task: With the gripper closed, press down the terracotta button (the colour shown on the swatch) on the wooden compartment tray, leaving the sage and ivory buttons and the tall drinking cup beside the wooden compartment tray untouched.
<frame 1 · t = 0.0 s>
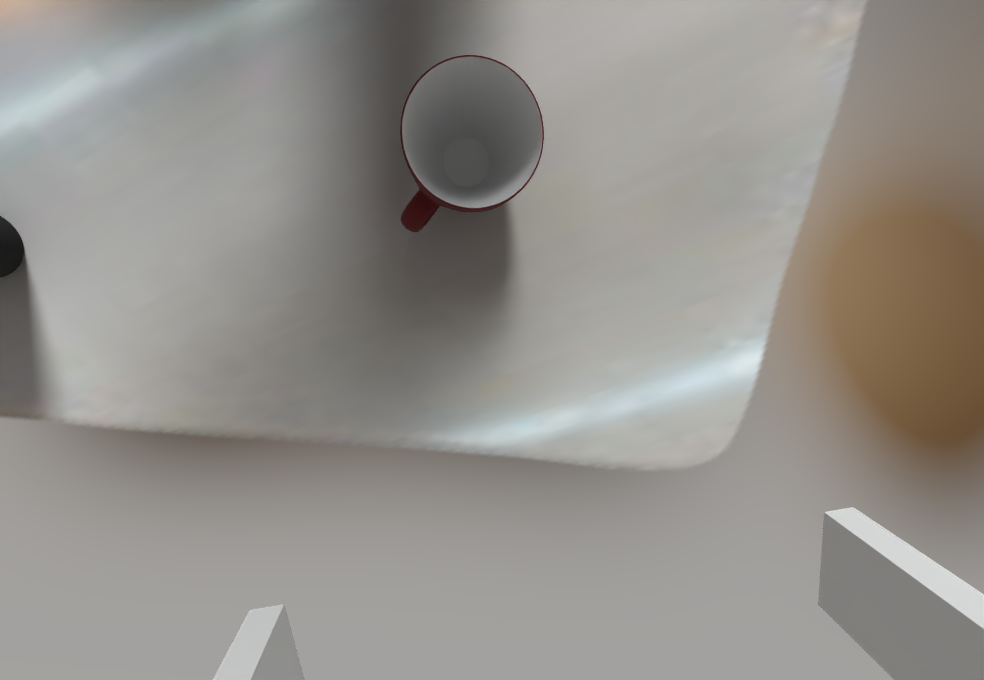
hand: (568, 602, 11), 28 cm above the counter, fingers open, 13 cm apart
mug: (457, 177, 35), on the counter
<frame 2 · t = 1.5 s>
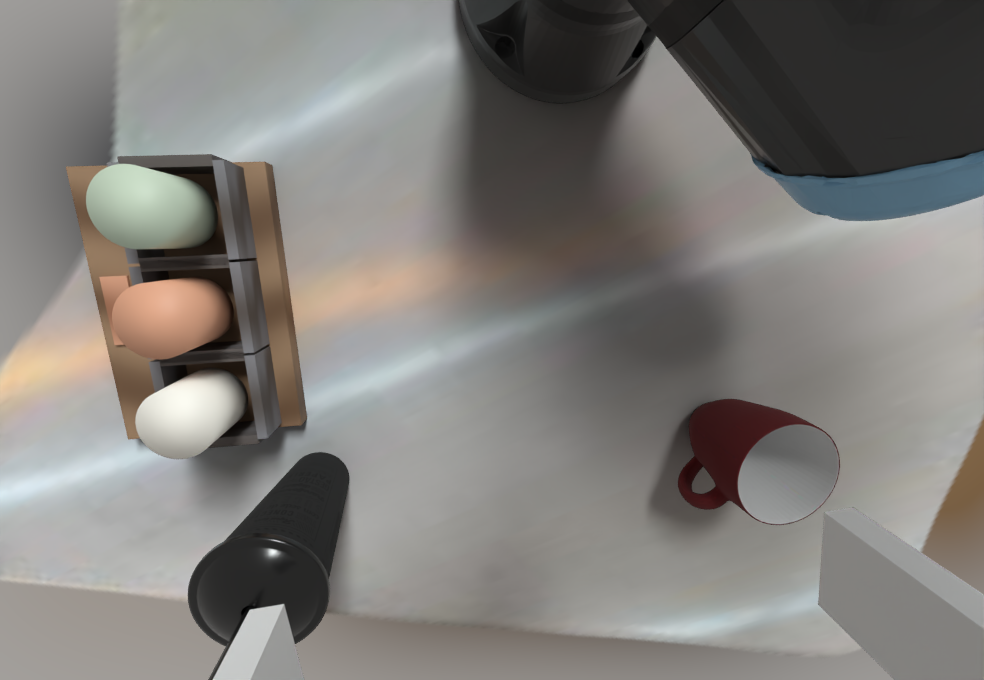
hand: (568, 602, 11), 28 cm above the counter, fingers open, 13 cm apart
button terracotta: (178, 315, 29), point 6 cm above the counter, slide at 0.0 cm
button ivory: (196, 410, 30), point 6 cm above the counter, slide at 0.0 cm
button sage: (158, 210, 28), point 6 cm above the counter, slide at 0.0 cm
wooden compartment tray: (203, 303, 35), on the counter
mug: (698, 431, 43), on the counter
drinking cup: (321, 476, 39), on the counter
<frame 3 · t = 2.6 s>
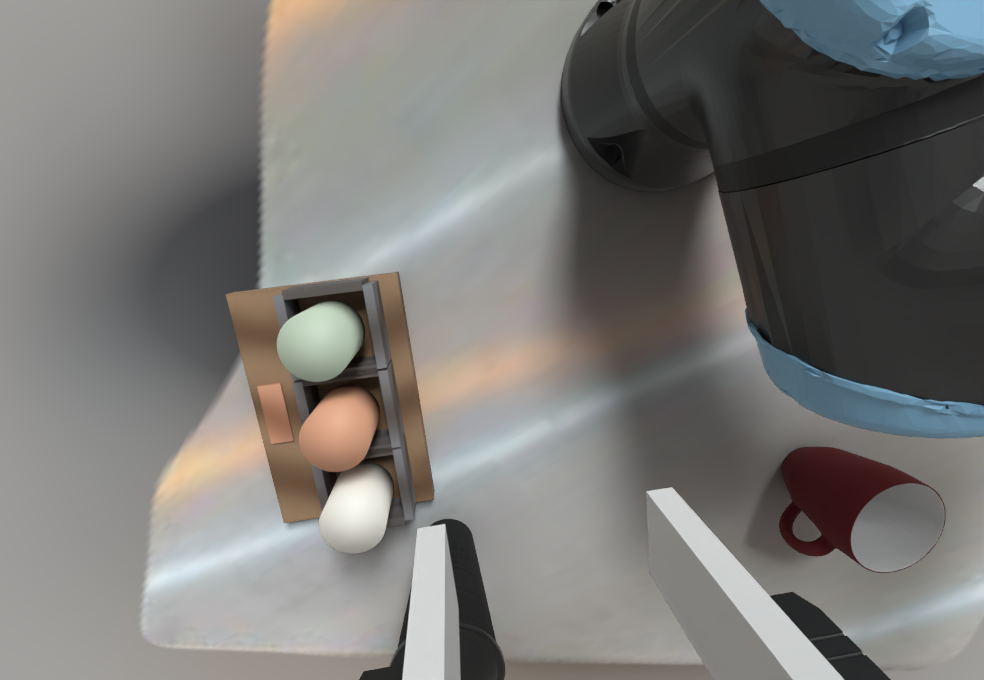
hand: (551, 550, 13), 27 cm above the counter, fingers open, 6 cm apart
button terracotta: (342, 425, 33), point 6 cm above the counter, slide at 0.0 cm
button ivory: (359, 504, 34), point 6 cm above the counter, slide at 0.0 cm
button sage: (324, 338, 31), point 6 cm above the counter, slide at 0.0 cm
wooden compartment tray: (341, 398, 39), on the counter
mug: (790, 474, 45), on the counter
drinking cup: (447, 539, 43), on the counter
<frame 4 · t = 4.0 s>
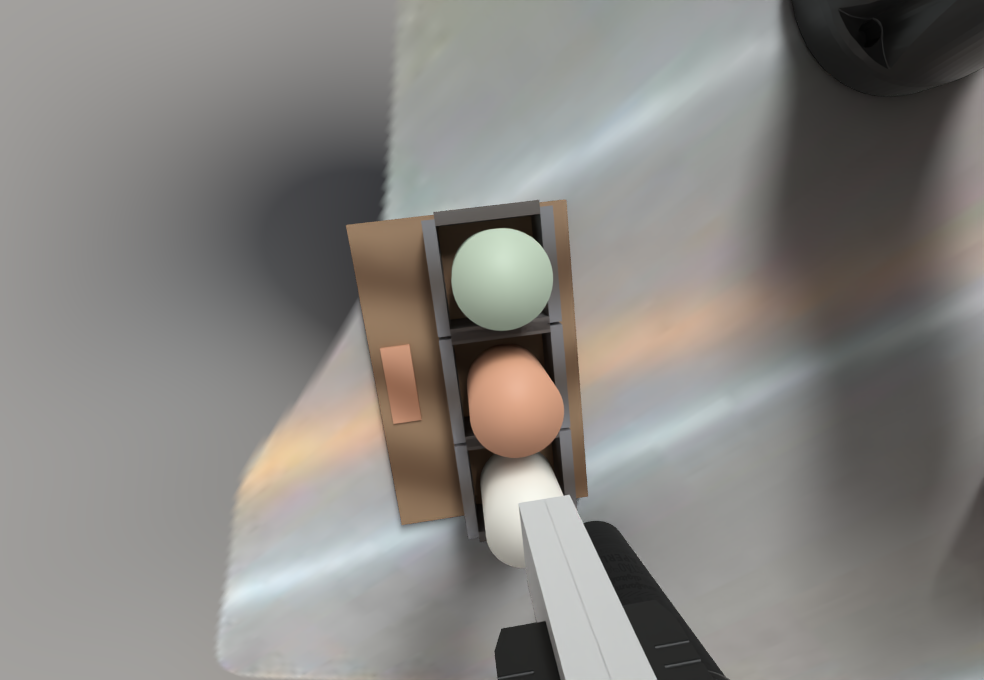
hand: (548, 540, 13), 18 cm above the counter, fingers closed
button terracotta: (510, 396, 24), point 6 cm above the counter, slide at 0.0 cm
button ivory: (522, 502, 26), point 6 cm above the counter, slide at 0.0 cm
button sage: (497, 275, 23), point 6 cm above the counter, slide at 0.0 cm
wooden compartment tray: (477, 366, 30), on the counter
drinking cup: (591, 546, 35), on the counter
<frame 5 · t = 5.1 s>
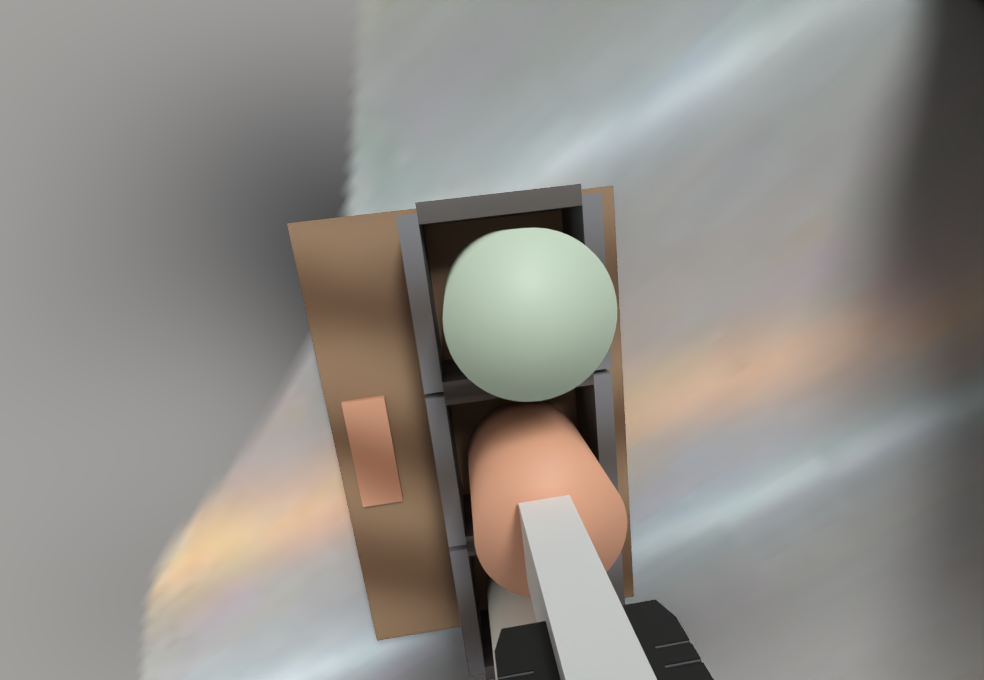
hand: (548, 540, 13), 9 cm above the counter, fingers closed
button terracotta: (536, 487, 16), point 6 cm above the counter, slide at 0.1 cm, touching gripper
button ivory: (552, 639, 17), point 6 cm above the counter, slide at 0.0 cm
button sage: (517, 304, 14), point 6 cm above the counter, slide at 0.0 cm
wooden compartment tray: (481, 421, 22), on the counter
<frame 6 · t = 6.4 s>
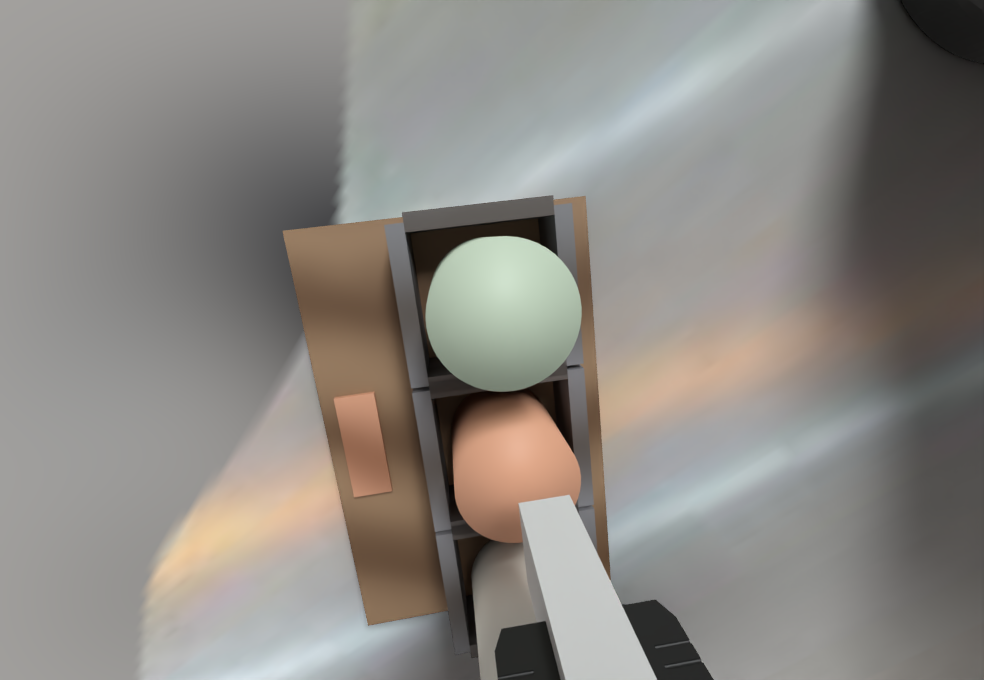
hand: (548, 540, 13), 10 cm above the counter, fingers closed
button terracotta: (508, 454, 19), point 5 cm above the counter, slide at 1.6 cm
button ivory: (531, 615, 19), point 6 cm above the counter, slide at 0.0 cm
button sage: (495, 304, 16), point 6 cm above the counter, slide at 0.0 cm
wooden compartment tray: (466, 416, 23), on the counter
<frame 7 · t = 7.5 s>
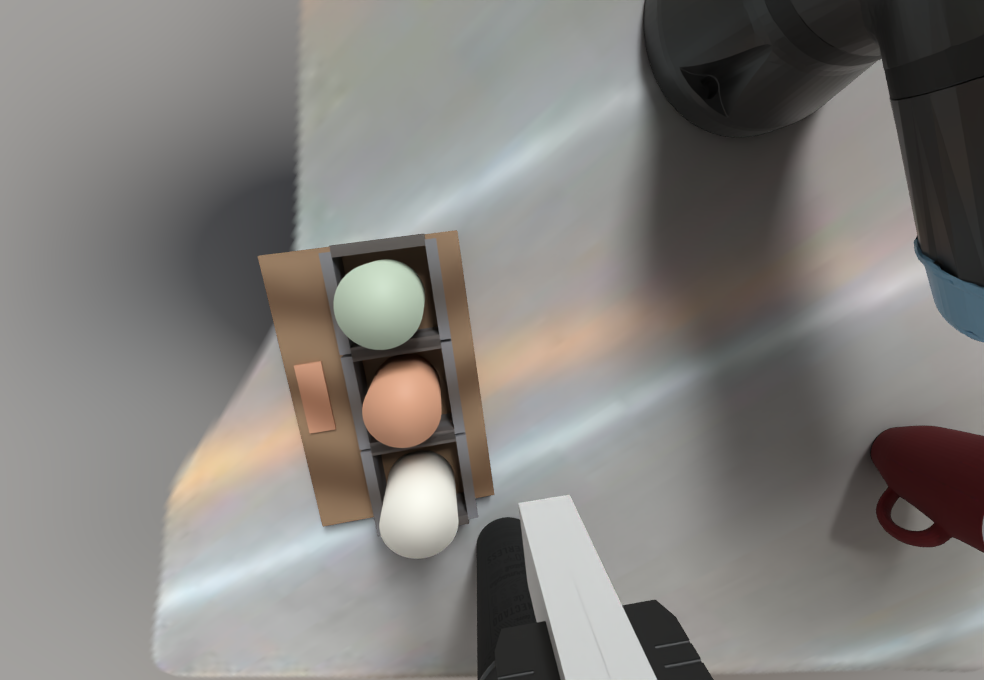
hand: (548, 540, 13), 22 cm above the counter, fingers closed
button terracotta: (404, 397, 29), point 5 cm above the counter, slide at 1.6 cm
button ivory: (420, 500, 29), point 6 cm above the counter, slide at 0.0 cm
button sage: (384, 301, 26), point 6 cm above the counter, slide at 0.0 cm
wooden compartment tray: (388, 379, 34), on the counter
mug: (879, 458, 41), on the counter
drinking cup: (505, 541, 38), on the counter
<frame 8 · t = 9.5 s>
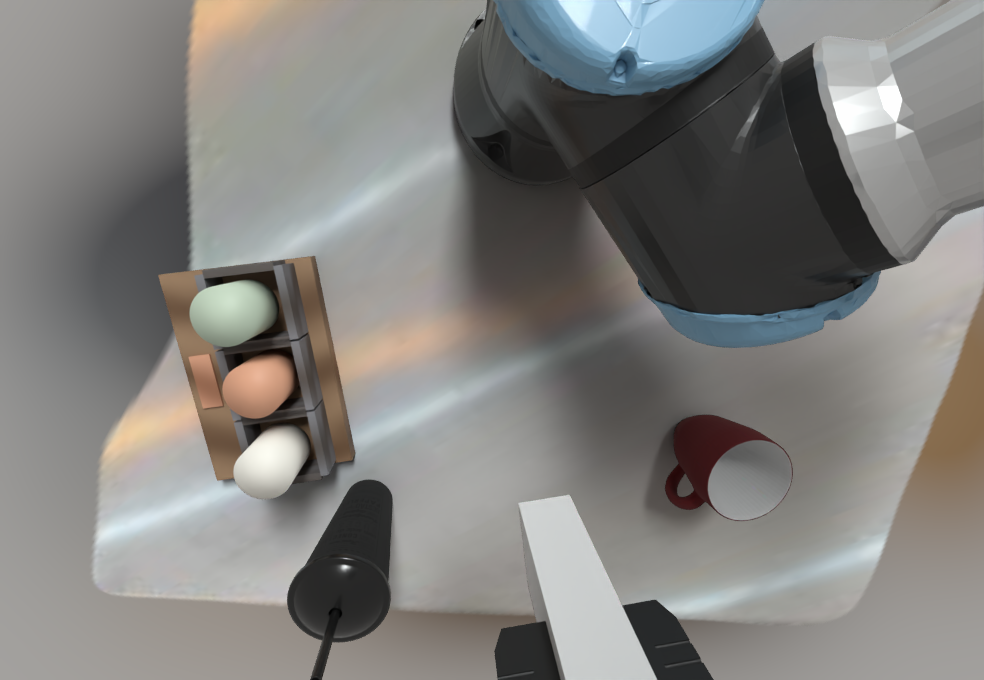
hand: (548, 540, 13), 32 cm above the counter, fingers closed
button terracotta: (264, 382, 39), point 5 cm above the counter, slide at 1.6 cm
button ivory: (274, 459, 39), point 6 cm above the counter, slide at 0.0 cm
button sage: (237, 311, 36), point 6 cm above the counter, slide at 0.0 cm
wooden compartment tray: (267, 369, 44), on the counter
mug: (683, 441, 50), on the counter
drinking cup: (369, 498, 48), on the counter
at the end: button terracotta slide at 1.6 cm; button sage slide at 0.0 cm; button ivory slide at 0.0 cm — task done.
